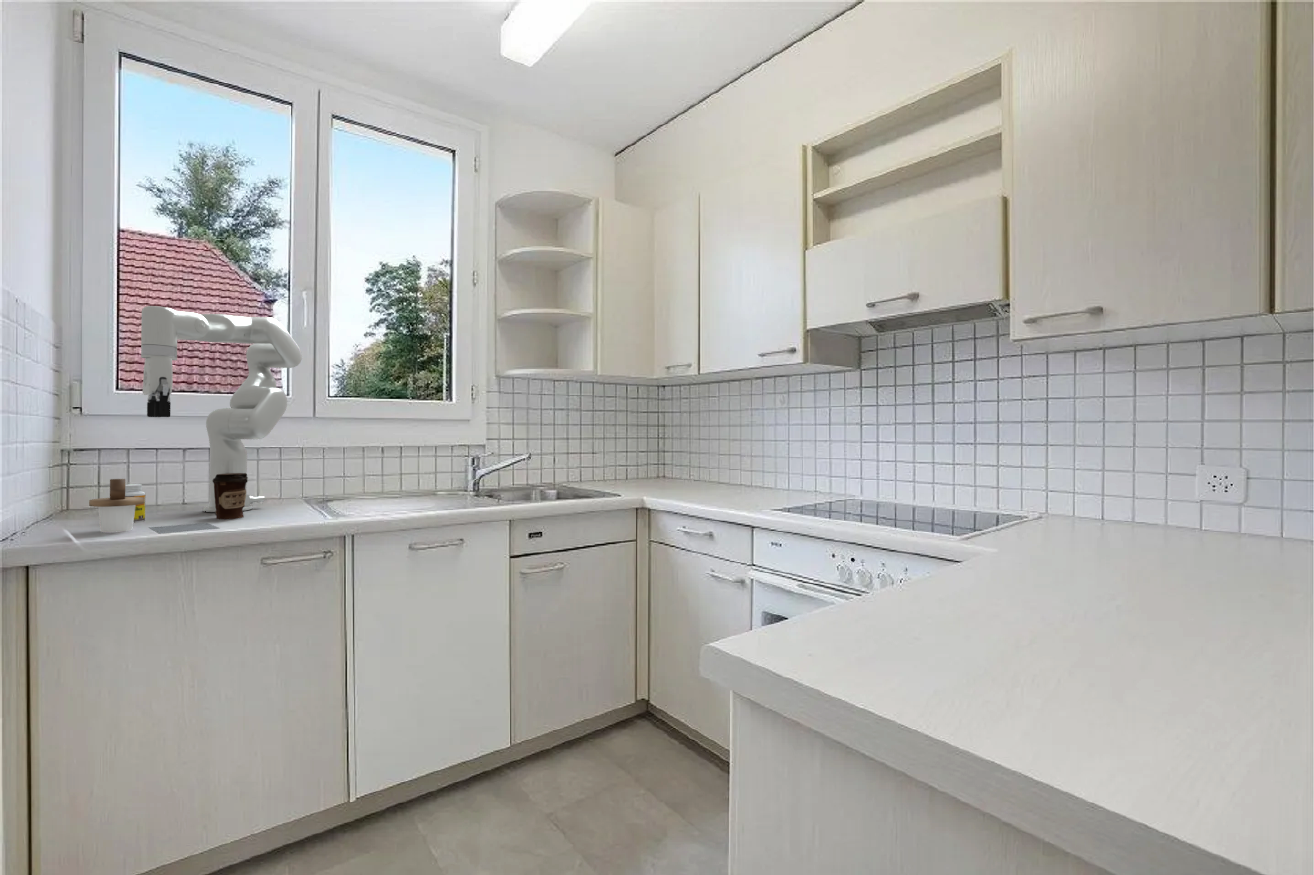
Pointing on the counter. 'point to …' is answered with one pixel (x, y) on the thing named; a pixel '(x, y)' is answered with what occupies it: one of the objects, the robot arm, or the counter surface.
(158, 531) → the mat
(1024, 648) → the counter surface
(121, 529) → the white cup
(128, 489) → the supplement bottle
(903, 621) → the counter surface
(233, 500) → the coffee cup
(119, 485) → the lid
